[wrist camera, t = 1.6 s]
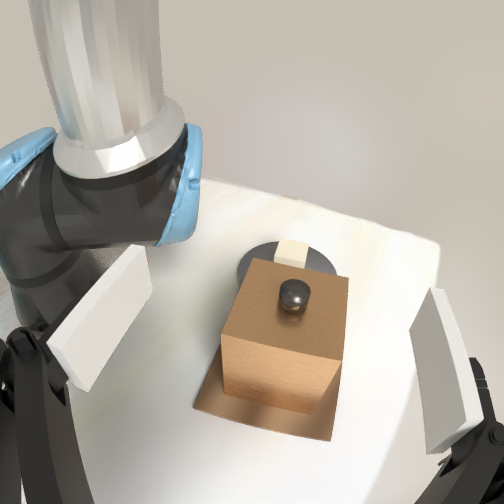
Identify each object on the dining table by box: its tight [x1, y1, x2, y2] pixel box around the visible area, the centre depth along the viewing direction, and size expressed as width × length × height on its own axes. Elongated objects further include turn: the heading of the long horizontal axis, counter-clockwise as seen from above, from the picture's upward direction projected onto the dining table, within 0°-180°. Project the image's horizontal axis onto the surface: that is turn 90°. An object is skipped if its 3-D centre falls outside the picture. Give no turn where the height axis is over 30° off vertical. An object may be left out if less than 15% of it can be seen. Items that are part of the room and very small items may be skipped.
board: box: [193, 337, 345, 442], centre depth 31 cm, size 14×14×1 cm
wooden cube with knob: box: [221, 258, 349, 415], centre depth 27 cm, size 9×9×13 cm
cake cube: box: [274, 238, 309, 268], centre depth 41 cm, size 4×4×4 cm
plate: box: [238, 242, 337, 287], centre depth 43 cm, size 14×14×1 cm
